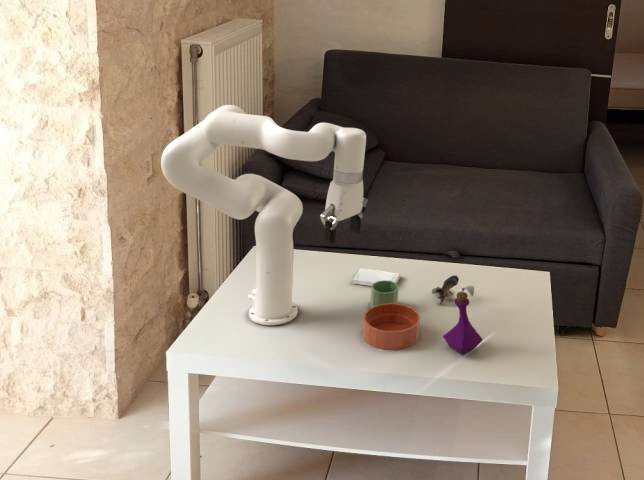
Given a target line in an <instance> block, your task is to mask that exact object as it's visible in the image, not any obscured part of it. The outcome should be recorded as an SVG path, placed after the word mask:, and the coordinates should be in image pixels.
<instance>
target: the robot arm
mask: <svg viewBox="0 0 644 480" xmlns="http://www.w3.org/2000/svg"><path fill="white" fill-rule="evenodd" d="M223 146H232V147H241V148H250V149H255V150H257V149H258V150H264V151H266V152H267V153H269V154H272V155H275V156H277V157H280V158H284V159H286V160H287V159H288V160H295V161H302V162H319V161H322V160H324V159H326V158H327V157H328V156H329V154H330V153H332V152H334V163H333V173H332V176H333V177H332V180H331V181H330V183H329V187H328V190H327V195H326V201H325V208H324V211H323V212H322V213H321V214H320V216H319V217H320V218H319V219H320V221H321V224H322V225H323V227H324V228H325V229H324V230H325V231H324V241H325V242H327V243H329V244H332V245H334V244H335V243H336V237H337V229H336V227H337V225H338V223H339V222H341V221H344V220H347V219H349V218H350V219H349V231H351V232H354V233H356V234H359V233H361V226H362V219H363V217H364V213H365V212H366V209H367V205H368V203H369V199H368V198H365V197H364V179H363V176H364V166H365V155H366V146H367V134H366V132H365V131H364V130H363V129H361V128H356V127H343V126H341V125H337V124H333V123H330V122H319V123H316V124H315V125H314V126H312V127H311V129H309V131H301V130H292V129H287V128H284V127H281V126H280V125H278V124H277V123H276V122H275V121H274V119H273V118H272V117H270V116H267V115H258V114H251V113H250V114H249V113H246V112H245V111H244V110H243V109H242V108H241V107H240V106H238V105H235V104H225V105H222V106H220V107H218V108H216V109H215V110H213V111H212V112H210V113H209V114H208V115H207V116H206V117H205V118H204V119H203V120H201V122H199V123H198V124H196V125H195V126H193V127H192V128H190V129H189V130H188V131H186V132H185V133H183V134H181V135H180V136H177V138H175V139H174V140H172V141H171V142H170V143H169V144H167V146H166V147H165V149H164V150H163V152H162V155H161V158H160V167H161V172H162V174H163V176H164V178H165V179H166V181H167V182H168V184H169V185H171V186H172V187H173V188H174V189H176V190H178V191H179V192H182V193H184V194H185V195H187V196H190V197H192V198H194V199H196V200H198V201H199V202H202V203H204V204H205V205H207V206H208V207H211V208H213V209H215V210H217V211H219V212H221V213H222V214H224V215H226V216H228V217H230V218H232V219H234V220H240V221H241V220H246V219H247V218H249V217H250V216H252V215H253V214H254V212H257V213H258V214H257V216H256V219H255V222H254V237H255V250H256V252H255V267H256V268H255V287H254V288H253V289H252V290H251V293H249V294H248V296H247V299H248V300H251V301H252V306H251V307H250V308H249V311H248V317H249V319H250V320H251V321H252V322H254V323H255V324H258V325H261V326H279V325H283V324H286V323H289V322H291V321H292V320H294V319H295V318H296V317H297V315H298V310H299V309H298V306H297V304H296V303H294V302H293V287H294V286H293V283H294V258H295V257H294V254H295V252H294V239H293V236H294V235H293V234H294V229H295V227H296V225H297V223H298V222H299V220H300V219H301V217H302V215H303V210H304V207H303V202H302V200H301V199H300V198H299V197H298V196H297V195H296V194H295V193H293V192H292V191H290V190H288V189H286V188H284V187H283V186H281V185H279V184H277V183H275V182H273V181H271V180H269V179H267V178H266V177H264V176H262V175H259V174H255V173H245V174H241V175H239V176H238V177H236V178H235V179H233V178H231V177H229V176H227V175H224V174H223V173H221V172H220V171H218V170H215V169H211V168H209V167H208V168H207V167H204V166H202V165H200V163H202V162H203V161H204V160H205V159H207V158H208V157H209V156H210V155H212V154H214V152H216V151H217V150H219V149H220V148H221V147H223Z"/></svg>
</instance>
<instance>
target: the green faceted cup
mask: <svg viewBox="0 0 644 480" xmlns="http://www.w3.org/2000/svg"><path fill="white" fill-rule="evenodd" d="M370 289H371V290H370V305H369V308H372V307H373V306H377V305H380V304H387V303H395V304H399V296H400V295H399V294H400V293H399V292H400V285H399V284H398V282H397V283H395V282H392V281H386V280H383V281H377V282H375V283H373V285H372V286H370Z"/></svg>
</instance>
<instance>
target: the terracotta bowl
mask: <svg viewBox="0 0 644 480" xmlns="http://www.w3.org/2000/svg"><path fill="white" fill-rule="evenodd" d="M362 319H363V320H362V338H363V341H364V342H365V343H367V344H368V345H369V346H371V347H372V348H373V347H374V348H376V349H380V350H385V351H396V350H403V349H406V348H409V347H412V345H414V344H415V343H416V342H417V341H418V339H419V335H420V325H421V324H420V321H421V316H420V314H419V312H418V311H417V310H416V309H415V308H413V307H411V306H409V305H407V304H402V303H398V304H395V303H387V304H380V305H377V306H373V307H372V308H371V307H369V308H368V309H367V310H366V311H365V312H364V313H363V318H362Z"/></svg>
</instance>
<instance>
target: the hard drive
mask: <svg viewBox="0 0 644 480" xmlns="http://www.w3.org/2000/svg"><path fill="white" fill-rule="evenodd" d="M400 278H401V273H397V272H391V271H385V270H377V269H371V268H363V267H360V269H358V271H357V273H356V275H355V276H354V277H353V279H352V284H353V285H360V286H361V285H362V286H368V287H372V285H373V283H375V282H377V281H383V280H386V281H392V282H395V283H397V284H398V282H399V280H400Z"/></svg>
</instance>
